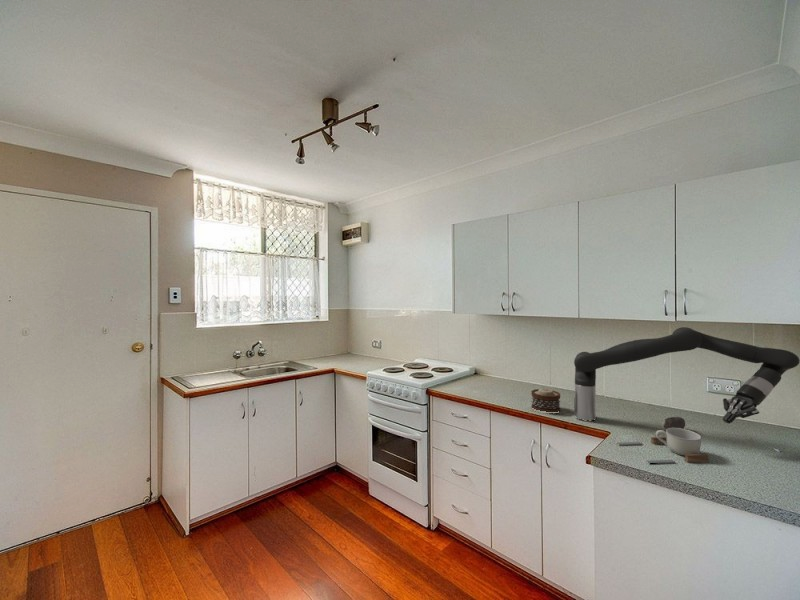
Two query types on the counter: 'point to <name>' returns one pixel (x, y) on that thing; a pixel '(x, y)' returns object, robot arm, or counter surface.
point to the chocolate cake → (545, 400)
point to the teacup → (681, 440)
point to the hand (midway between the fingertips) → (725, 421)
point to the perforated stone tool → (674, 423)
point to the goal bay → (651, 460)
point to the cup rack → (687, 456)
